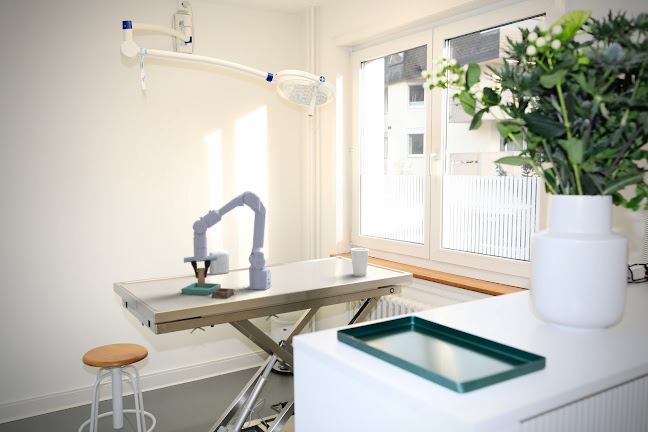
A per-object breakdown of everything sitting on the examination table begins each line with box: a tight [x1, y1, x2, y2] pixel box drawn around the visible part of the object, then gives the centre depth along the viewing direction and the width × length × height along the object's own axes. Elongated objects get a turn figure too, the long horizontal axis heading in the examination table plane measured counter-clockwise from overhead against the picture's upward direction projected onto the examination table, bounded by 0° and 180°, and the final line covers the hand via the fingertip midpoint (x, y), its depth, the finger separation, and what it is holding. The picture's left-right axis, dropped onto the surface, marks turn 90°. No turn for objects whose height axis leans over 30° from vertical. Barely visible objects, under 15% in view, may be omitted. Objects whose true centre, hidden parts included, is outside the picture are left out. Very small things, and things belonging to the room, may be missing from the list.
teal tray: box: [180, 282, 222, 296], centre depth 246 cm, size 13×13×2 cm
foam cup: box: [350, 247, 370, 277], centre depth 279 cm, size 10×9×13 cm
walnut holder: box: [211, 287, 235, 299], centre depth 237 cm, size 7×7×2 cm
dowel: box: [196, 267, 206, 287], centre depth 245 cm, size 3×3×8 cm
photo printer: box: [208, 249, 230, 276], centre depth 283 cm, size 10×4×12 cm, turn 123°
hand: (201, 277), depth 245 cm, fingers closed on dowel, 3 cm apart
